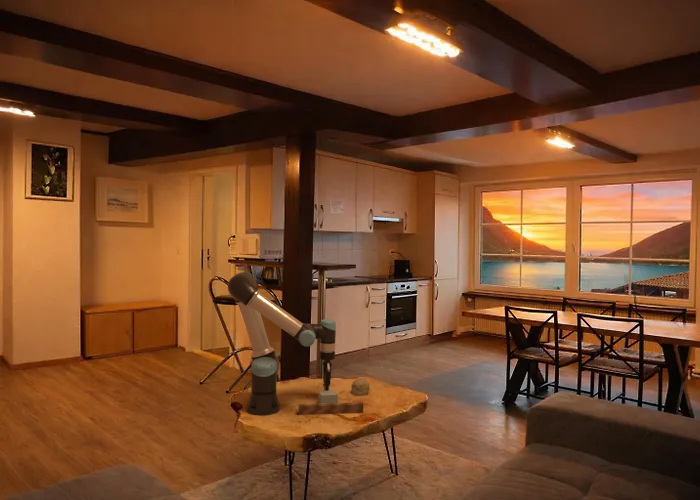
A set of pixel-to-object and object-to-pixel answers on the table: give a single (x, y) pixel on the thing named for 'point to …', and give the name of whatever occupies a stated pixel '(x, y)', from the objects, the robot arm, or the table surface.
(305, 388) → the table surface
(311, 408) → the brown wooden bar
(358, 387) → the decorative object
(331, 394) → the block
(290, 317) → the robot arm
